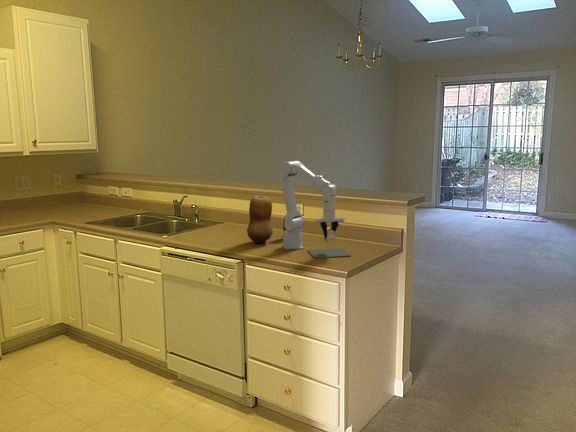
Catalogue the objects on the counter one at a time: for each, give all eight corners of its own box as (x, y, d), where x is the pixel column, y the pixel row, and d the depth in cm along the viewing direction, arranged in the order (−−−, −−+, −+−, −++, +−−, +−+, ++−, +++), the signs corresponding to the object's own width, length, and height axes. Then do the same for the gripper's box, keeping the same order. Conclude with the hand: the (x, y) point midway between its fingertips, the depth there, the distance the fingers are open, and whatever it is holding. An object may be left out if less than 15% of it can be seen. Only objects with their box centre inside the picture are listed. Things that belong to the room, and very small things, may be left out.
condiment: (293, 239, 269) (293, 218, 267) (278, 239, 270) (278, 217, 268) (295, 236, 276) (295, 215, 274) (280, 236, 277) (280, 215, 275)
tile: (324, 239, 241) (324, 227, 240) (329, 239, 242) (330, 227, 241) (328, 243, 233) (328, 231, 231) (334, 243, 233) (334, 231, 232)
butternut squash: (269, 246, 255) (268, 198, 250) (244, 245, 257) (243, 197, 253) (275, 240, 268) (274, 194, 264) (251, 239, 271) (250, 194, 266)
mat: (314, 258, 231) (314, 257, 230) (307, 251, 244) (307, 250, 244) (351, 256, 234) (351, 255, 233) (342, 249, 247) (342, 248, 247)
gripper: (316, 211, 230) (316, 239, 232) (346, 210, 232) (345, 238, 235) (313, 209, 237) (313, 236, 239) (342, 208, 239) (341, 235, 242)
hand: (329, 237), depth 237 cm, fingers closed on tile, 3 cm apart
